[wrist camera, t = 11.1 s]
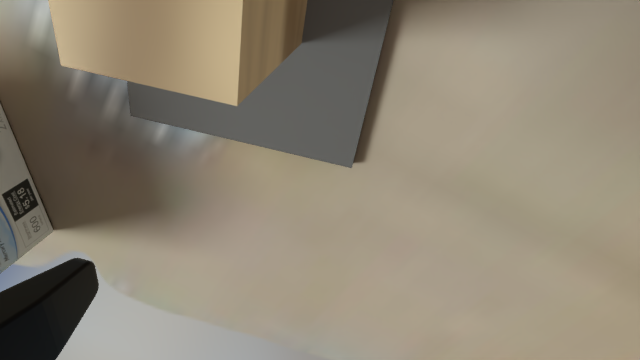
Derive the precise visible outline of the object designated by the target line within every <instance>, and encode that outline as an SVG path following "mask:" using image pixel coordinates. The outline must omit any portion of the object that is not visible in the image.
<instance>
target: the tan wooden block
mask: <svg viewBox="0 0 640 360" xmlns="http://www.w3.org/2000/svg"><path fill="white" fill-rule="evenodd" d="M48 1H49V6H50V12H51V17H52V22H53V27H54V32H55V37H56V42H57V47H58V53H59V58H60V63H61V66H65V67H69V68H74V69H78V70H82V71H87V72H91V73H95V74H100V75H104V76H108V77H113V78H117V79H121V80H126V81H130V82H134V83H139V84H143V85H147V86H152V87H156V88H160V89H165V90H169V91H173V92H178V93H182V94H186V95H191V96H195V97H199V98H204V99H208V100H213V101H217V102H221V103H226V104H230V105H234V106H238V105H239V104H240V103H241V102H242V101H243V100H244V99H245V98H246V97H247V96H248V95H249V94H250V93H251V92H252V91H253V90H254V89H255V88H256V87H257V86H258V85H259V84H260V83H261V82H262V81H263V80H264V79H265V78H266V77H268V76H269V75H270V74H271V73H272V72H273V71H274V70H275V69H276V68H277V67H278V66H279V65H280V64H281V63H282V62H283V61H284V60H285V59H286V58H287V57H288V56H289V55H290V54H291V53H292V52H293V51H294V50H295V49H296V48H297V47H298V46H299V45H300V44H301V43H302V36H303V29H304V21H305V14H306V7H307V0H48Z"/></svg>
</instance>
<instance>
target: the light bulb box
mask: <svg viewBox="0 0 640 360" xmlns="http://www.w3.org/2000/svg"><path fill="white" fill-rule="evenodd" d="M52 232H53V228H52V226H51V223H50V221H49V219H48V216H47V214H46V211H45V209H44V207H43V204H42V202H41V200H40V197H39V195H38V192H37V190H36V188H35V185H34V183H33V180H32V178H31V176H30V173H29V171H28V169H27V166H26V164H25V161H24V159H23V156H22V154H21V152H20V149H19V147H18V144H17V142H16V140H15V137H14V135H13V132H12V130H11V128H10V125H9V123H8V120H7V118H6V116H5V113H4V111H3V108H2V106H1V104H0V273H1V272H3V271H4V270H5V269H7V268H8V267H9V266H10V265H12V264H13V263H14V262H15V261H17V260H18V259H19V258H20V257H22V256H23V255H24V254H25V253H27V252H28V251H29V250H30V249H32V248H33V247H34V246H35V245H37V244H38V243H39V242H40V241H42V240H43V239H44V238H46V237H47V236H48V235H49V234H51V233H52Z"/></svg>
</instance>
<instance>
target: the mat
mask: <svg viewBox="0 0 640 360" xmlns="http://www.w3.org/2000/svg"><path fill="white" fill-rule="evenodd" d="M392 4H393V0H307V7H306V14H305V21H304V29H303V36H302V43H301V44H300V45H299V46H298V47H297V48H296V49H295V50H294V51H293V52H292V53H291V54H290V55H289V56H288V57H287V58H286V59H285V60H284V61H283V62H282V63H281V64H280V65H279V66H278V67H277V68H276V69H275V70H274V71H273V72H272V73H271V74H270V75H269V76H268V77H266V78H265V79H264V80H263V81H262V82H261V83H260V84H259V85H258V86H257V87H256V88H255V89H254V90H253V91H252V92H251V93H250V94H249V95H248V96H247V97H246V98H245V99H244V100H243V101H242V102H241V103H240V104H239V105H238V106H234V105H230V104H226V103H221V102H217V101H213V100H208V99H204V98H199V97H195V96H191V95H186V94H182V93H178V92H173V91H169V90H165V89H160V88H156V87H152V86H147V85H143V84H139V83H134V82H130V81H127V84H128V94H129V104H130V113H131V116H134V117H138V118H143V119H147V120H151V121H155V122H159V123H164V124H168V125H172V126H176V127H181V128H185V129H189V130H193V131H197V132H202V133H206V134H210V135H214V136H219V137H223V138H227V139H231V140H235V141H240V142H244V143H248V144H252V145H256V146H261V147H265V148H269V149H273V150H278V151H282V152H286V153H290V154H294V155H299V156H303V157H307V158H311V159H316V160H320V161H324V162H328V163H332V164H337V165H341V166H345V167H349V168H352V165H353V161H354V157H355V153H356V149H357V145H358V141H359V137H360V133H361V129H362V125H363V121H364V117H365V113H366V109H367V105H368V101H369V97H370V93H371V88H372V84H373V80H374V76H375V72H376V68H377V64H378V60H379V56H380V52H381V48H382V44H383V40H384V36H385V32H386V28H387V24H388V20H389V16H390V12H391V8H392Z"/></svg>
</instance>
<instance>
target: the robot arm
mask: <svg viewBox="0 0 640 360" xmlns="http://www.w3.org/2000/svg"><path fill="white" fill-rule="evenodd" d="M98 285H99V284H98V279H97V274H96V269H95V265H94V263H93V262H91V261H88V260H84V259H81V258H74V259H71V260H69V261H67V262H64V263H62V264H60V265H58V266H56V267H54V268H52V269H49V270H47V271H45V272H43V273H41V274H38V275H36V276H34V277H32V278H30V279H28V280H25V281H23V282H21V283H19V284H17V285H15V286H13V287H10V288H8V289H6V290H4V291H2V292H0V360H55V359H56V358H57V357H58V355H59V354H60V352H61V351H62V349H63V347H64V346H65V345H66V343H67V341H68V340H69V338H70V336H71V335H72V333H73V332H74V330H75V328H76V327H77V325H78V323H79V322H80V320H81V318H82V317H83V315H84V314H85V312H86V310H87V309H88V307H89V305H90V304H91V302H92V300H93V299H94V297H95V295H96V293H97V291H98Z"/></svg>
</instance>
